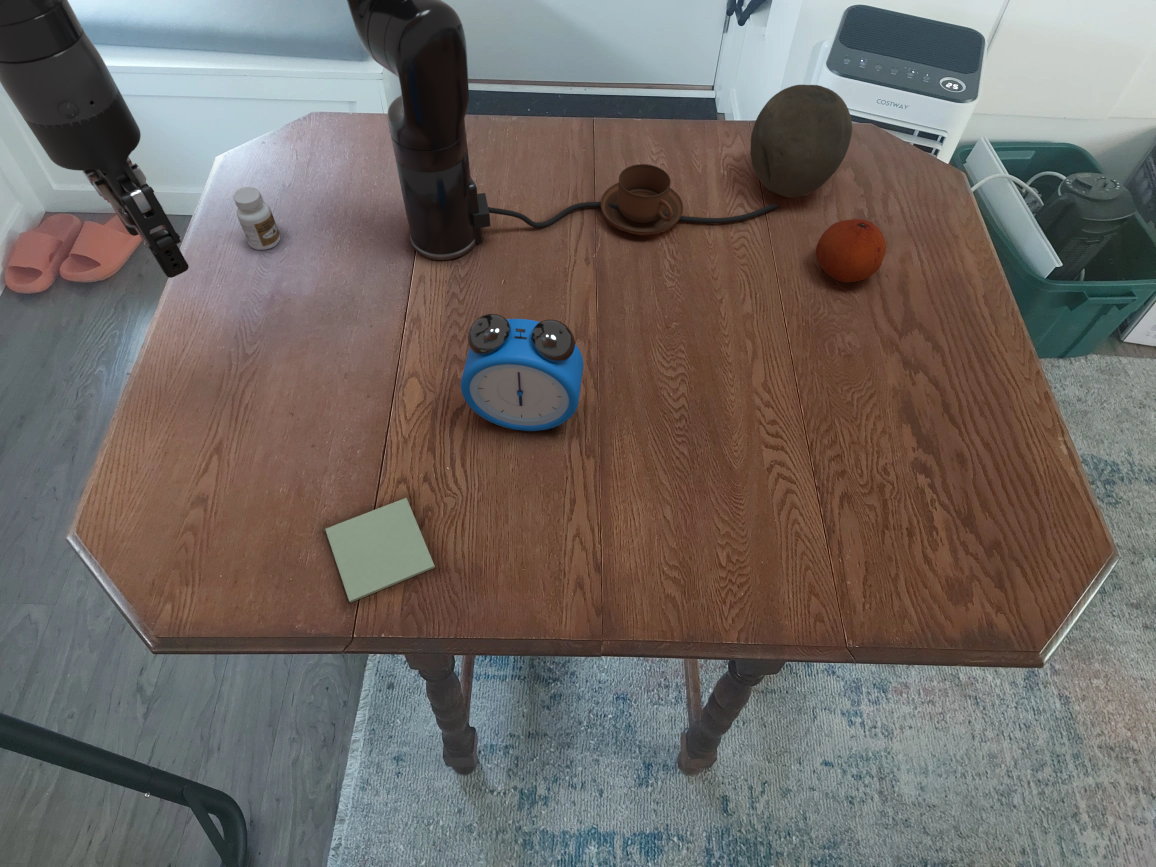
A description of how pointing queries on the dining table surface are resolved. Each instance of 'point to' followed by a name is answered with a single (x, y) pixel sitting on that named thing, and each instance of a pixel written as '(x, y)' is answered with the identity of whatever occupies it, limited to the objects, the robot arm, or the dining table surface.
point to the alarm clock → (522, 372)
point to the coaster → (379, 549)
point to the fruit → (851, 250)
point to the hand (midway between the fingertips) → (159, 251)
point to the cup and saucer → (642, 201)
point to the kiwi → (800, 139)
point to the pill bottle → (256, 219)
